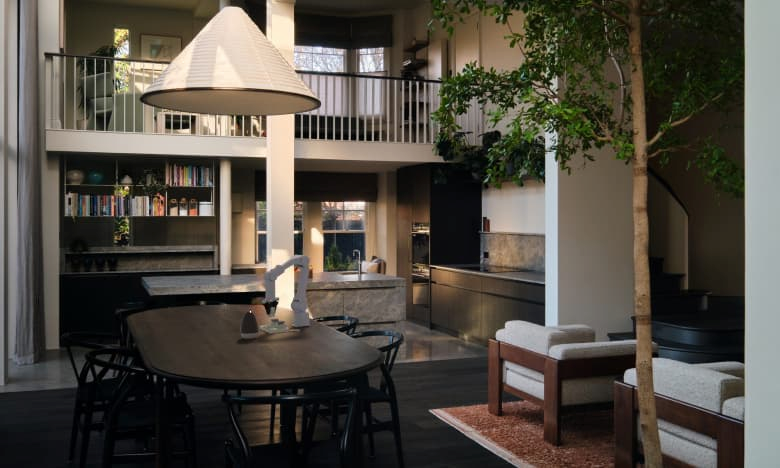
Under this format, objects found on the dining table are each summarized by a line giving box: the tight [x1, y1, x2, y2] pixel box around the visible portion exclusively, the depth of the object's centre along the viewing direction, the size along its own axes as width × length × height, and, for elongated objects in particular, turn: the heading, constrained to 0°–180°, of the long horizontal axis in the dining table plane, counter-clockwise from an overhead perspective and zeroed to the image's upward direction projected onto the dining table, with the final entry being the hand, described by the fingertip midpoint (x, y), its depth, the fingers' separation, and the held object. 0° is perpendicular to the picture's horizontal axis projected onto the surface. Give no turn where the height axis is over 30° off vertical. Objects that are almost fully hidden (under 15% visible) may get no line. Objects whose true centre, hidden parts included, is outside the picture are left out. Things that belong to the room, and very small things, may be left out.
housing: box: [259, 320, 290, 334], centre depth 422 cm, size 12×19×4 cm, turn 28°
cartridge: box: [266, 307, 276, 318], centre depth 422 cm, size 4×4×6 cm
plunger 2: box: [277, 320, 286, 325], centre depth 419 cm, size 4×4×3 cm
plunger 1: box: [270, 317, 280, 322], centre depth 429 cm, size 4×4×3 cm
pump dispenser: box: [239, 311, 260, 340], centre depth 395 cm, size 10×10×15 cm
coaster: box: [289, 329, 301, 333], centre depth 418 cm, size 6×6×1 cm
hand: (270, 314), depth 422 cm, fingers closed on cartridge, 4 cm apart
